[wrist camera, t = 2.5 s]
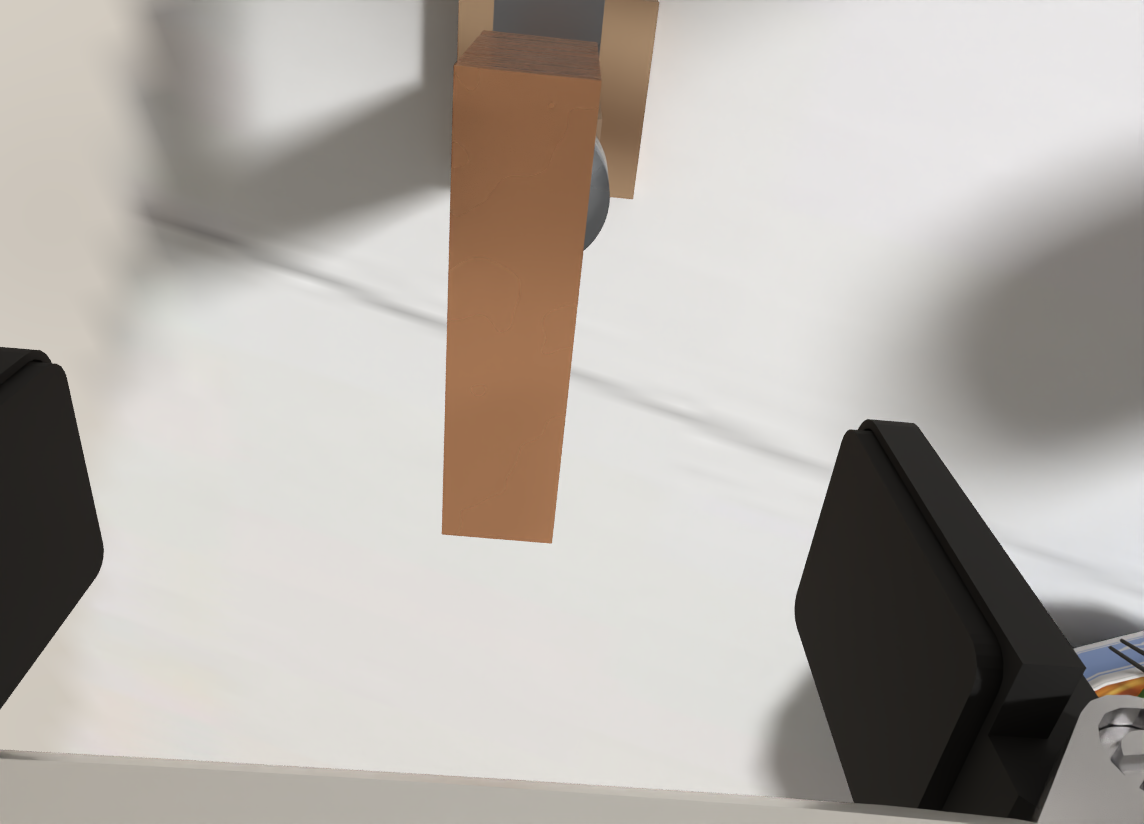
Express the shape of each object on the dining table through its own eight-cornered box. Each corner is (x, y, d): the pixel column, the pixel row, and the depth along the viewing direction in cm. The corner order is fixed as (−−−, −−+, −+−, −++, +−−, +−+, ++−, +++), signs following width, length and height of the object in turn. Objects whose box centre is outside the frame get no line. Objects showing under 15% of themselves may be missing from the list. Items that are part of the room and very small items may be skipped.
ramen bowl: (797, 725, 51) (831, 856, 44) (1121, 463, 41) (1232, 577, 34) (1072, 872, 58) (1140, 1005, 51) (1403, 677, 48) (1544, 808, 41)
